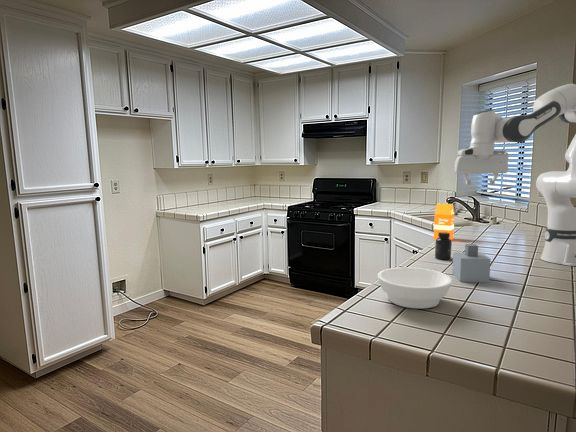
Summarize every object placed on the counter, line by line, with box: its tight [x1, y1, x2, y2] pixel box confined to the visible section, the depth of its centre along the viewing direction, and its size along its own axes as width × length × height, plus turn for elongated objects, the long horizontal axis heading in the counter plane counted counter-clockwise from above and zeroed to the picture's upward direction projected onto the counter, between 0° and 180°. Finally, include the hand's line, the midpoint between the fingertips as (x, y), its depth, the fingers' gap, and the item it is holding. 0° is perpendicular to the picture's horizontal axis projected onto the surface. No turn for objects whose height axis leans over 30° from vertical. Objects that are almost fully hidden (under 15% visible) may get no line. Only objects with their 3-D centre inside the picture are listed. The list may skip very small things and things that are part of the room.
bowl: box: [377, 266, 453, 309], centre depth 126 cm, size 22×22×8 cm
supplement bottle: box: [434, 232, 453, 261], centre depth 179 cm, size 7×7×12 cm
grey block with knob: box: [451, 243, 491, 283], centre depth 149 cm, size 10×10×13 cm
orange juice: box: [433, 203, 455, 241], centre depth 222 cm, size 8×9×20 cm
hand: (479, 184), depth 164 cm, fingers open, 8 cm apart
